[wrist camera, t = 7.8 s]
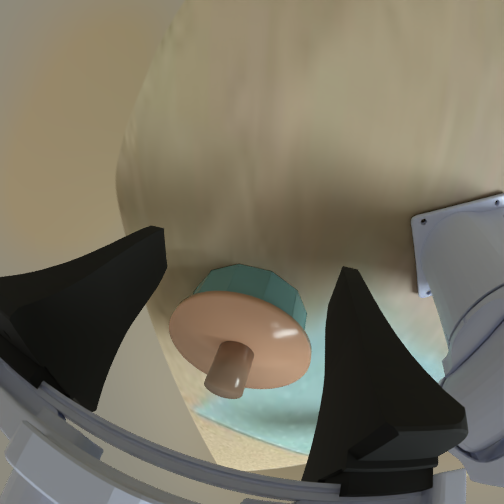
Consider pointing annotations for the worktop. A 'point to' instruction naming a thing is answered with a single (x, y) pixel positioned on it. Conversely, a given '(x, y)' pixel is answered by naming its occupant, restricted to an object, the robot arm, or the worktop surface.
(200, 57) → the worktop surface
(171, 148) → the worktop surface
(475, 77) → the worktop surface
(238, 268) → the bowl
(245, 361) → the lid
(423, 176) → the worktop surface
